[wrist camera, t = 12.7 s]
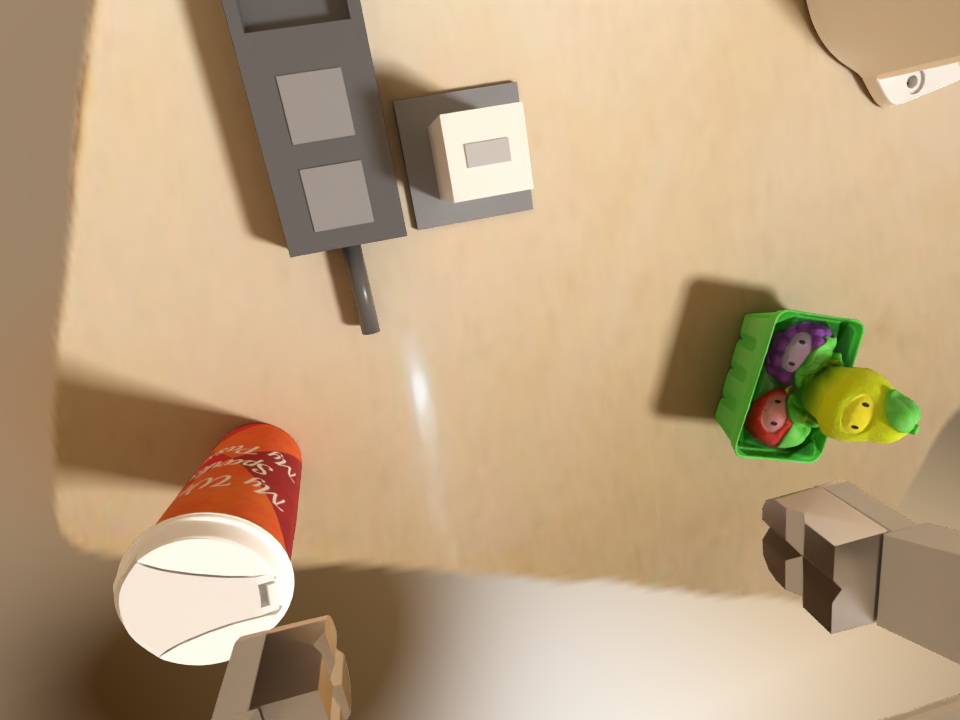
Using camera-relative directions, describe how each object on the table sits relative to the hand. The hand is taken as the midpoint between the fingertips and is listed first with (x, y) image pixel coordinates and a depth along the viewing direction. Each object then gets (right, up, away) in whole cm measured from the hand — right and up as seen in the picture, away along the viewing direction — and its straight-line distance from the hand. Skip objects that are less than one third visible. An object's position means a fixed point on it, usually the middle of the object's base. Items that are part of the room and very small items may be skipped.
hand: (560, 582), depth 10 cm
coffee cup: (-18, -3, +31) cm, 36 cm away
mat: (-2, +17, +27) cm, 32 cm away
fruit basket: (+22, +3, +36) cm, 43 cm away
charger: (-2, +17, +27) cm, 32 cm away
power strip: (-11, +18, +25) cm, 33 cm away
